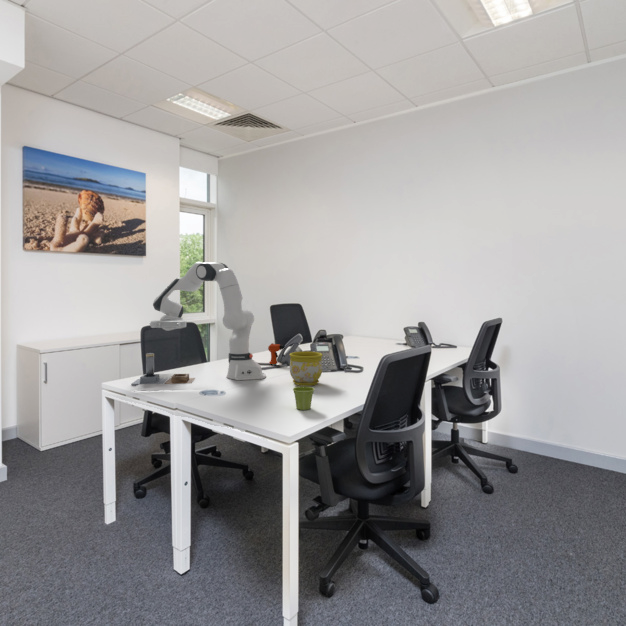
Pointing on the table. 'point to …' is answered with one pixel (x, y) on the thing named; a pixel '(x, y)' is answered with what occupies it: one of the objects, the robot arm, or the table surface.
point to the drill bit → (150, 365)
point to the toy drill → (274, 352)
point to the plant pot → (303, 397)
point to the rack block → (149, 380)
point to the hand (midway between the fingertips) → (169, 325)
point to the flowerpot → (306, 367)
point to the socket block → (180, 379)
